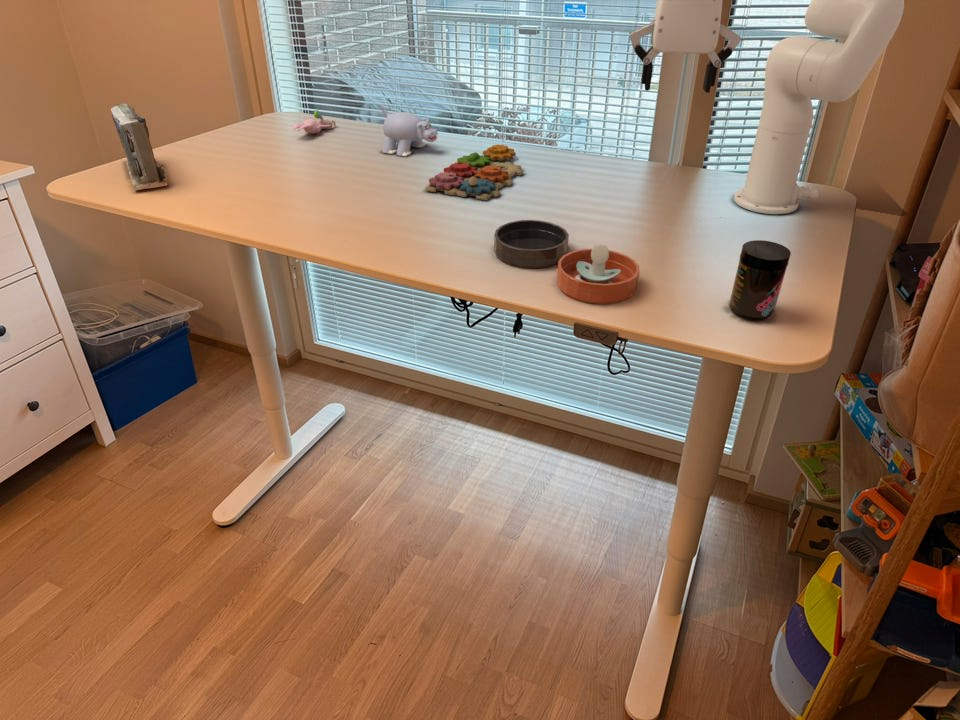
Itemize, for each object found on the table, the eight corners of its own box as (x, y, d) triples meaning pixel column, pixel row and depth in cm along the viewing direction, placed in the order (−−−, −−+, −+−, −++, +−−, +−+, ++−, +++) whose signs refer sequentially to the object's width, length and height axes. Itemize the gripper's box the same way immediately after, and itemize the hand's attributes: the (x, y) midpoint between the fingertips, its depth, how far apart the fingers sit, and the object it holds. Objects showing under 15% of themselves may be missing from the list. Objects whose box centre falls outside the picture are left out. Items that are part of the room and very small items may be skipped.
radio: (126, 161, 165) (107, 96, 156) (164, 157, 167) (148, 92, 159) (125, 194, 147) (103, 123, 138) (168, 189, 150) (150, 118, 141)
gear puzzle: (478, 150, 172) (478, 133, 170) (540, 158, 167) (541, 141, 165) (422, 192, 148) (421, 173, 146) (492, 203, 143) (492, 184, 141)
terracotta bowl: (634, 269, 118) (637, 251, 116) (638, 307, 108) (641, 287, 106) (558, 265, 120) (560, 246, 118) (554, 301, 109) (556, 281, 107)
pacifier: (609, 295, 110) (622, 279, 114) (613, 260, 106) (626, 245, 111) (567, 285, 113) (581, 269, 117) (569, 250, 109) (583, 236, 114)
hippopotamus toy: (425, 160, 166) (424, 119, 160) (372, 151, 171) (368, 112, 165) (446, 147, 174) (445, 108, 168) (394, 140, 179) (392, 101, 174)
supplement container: (746, 326, 103) (763, 263, 97) (718, 305, 108) (732, 244, 102) (783, 318, 105) (801, 255, 99) (753, 297, 110) (769, 237, 104)
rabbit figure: (322, 130, 191) (286, 135, 178) (321, 107, 188) (285, 110, 176) (340, 133, 189) (305, 138, 176) (340, 110, 186) (304, 113, 174)
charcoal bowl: (568, 239, 128) (569, 222, 126) (565, 271, 118) (567, 252, 116) (499, 235, 130) (499, 218, 128) (490, 266, 119) (490, 247, 117)
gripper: (748, -30, 107) (726, 86, 117) (635, -31, 109) (623, 82, 119) (757, -25, 101) (733, 97, 111) (638, -27, 103) (624, 93, 113)
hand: (676, 89), depth 115 cm, fingers open, 9 cm apart
